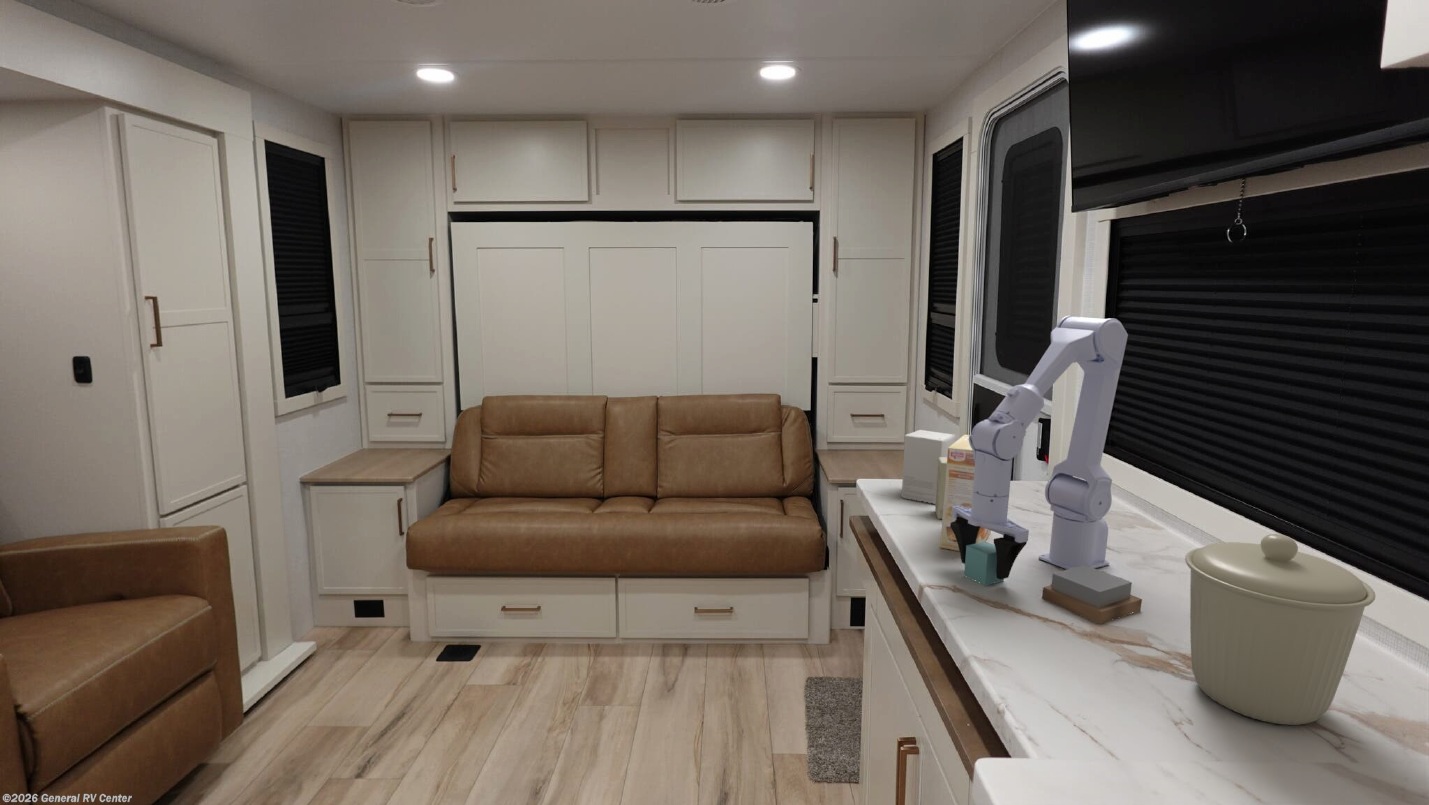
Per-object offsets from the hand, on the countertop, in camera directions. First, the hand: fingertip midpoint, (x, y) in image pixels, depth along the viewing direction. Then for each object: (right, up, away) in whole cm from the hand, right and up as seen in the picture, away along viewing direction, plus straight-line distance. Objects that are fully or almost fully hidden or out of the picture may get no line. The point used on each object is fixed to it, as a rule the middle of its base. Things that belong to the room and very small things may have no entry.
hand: (984, 569), depth 128 cm
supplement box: (+3, +6, +47) cm, 48 cm away
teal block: (0, -2, 0) cm, 2 cm away
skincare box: (+4, +4, +34) cm, 34 cm away
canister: (+20, -8, -36) cm, 42 cm away
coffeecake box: (+3, +1, +19) cm, 19 cm away
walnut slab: (+13, -4, -9) cm, 17 cm away
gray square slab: (+13, -2, -10) cm, 16 cm away
